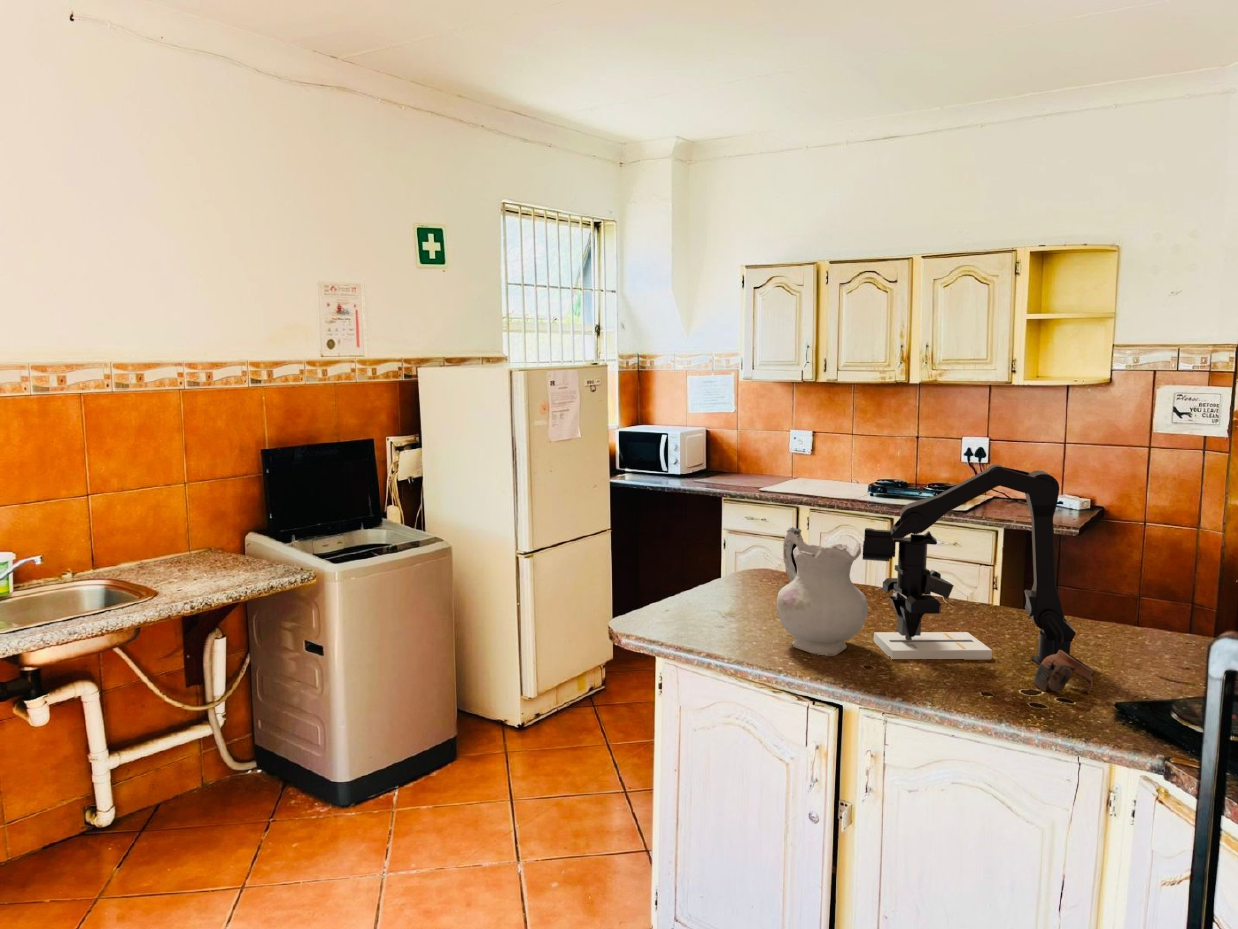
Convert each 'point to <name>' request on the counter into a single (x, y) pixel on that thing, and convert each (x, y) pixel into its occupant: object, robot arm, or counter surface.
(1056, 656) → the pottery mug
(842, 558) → the ceramic pitcher
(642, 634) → the counter surface
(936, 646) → the fader panel
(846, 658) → the counter surface
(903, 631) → the fader knob
